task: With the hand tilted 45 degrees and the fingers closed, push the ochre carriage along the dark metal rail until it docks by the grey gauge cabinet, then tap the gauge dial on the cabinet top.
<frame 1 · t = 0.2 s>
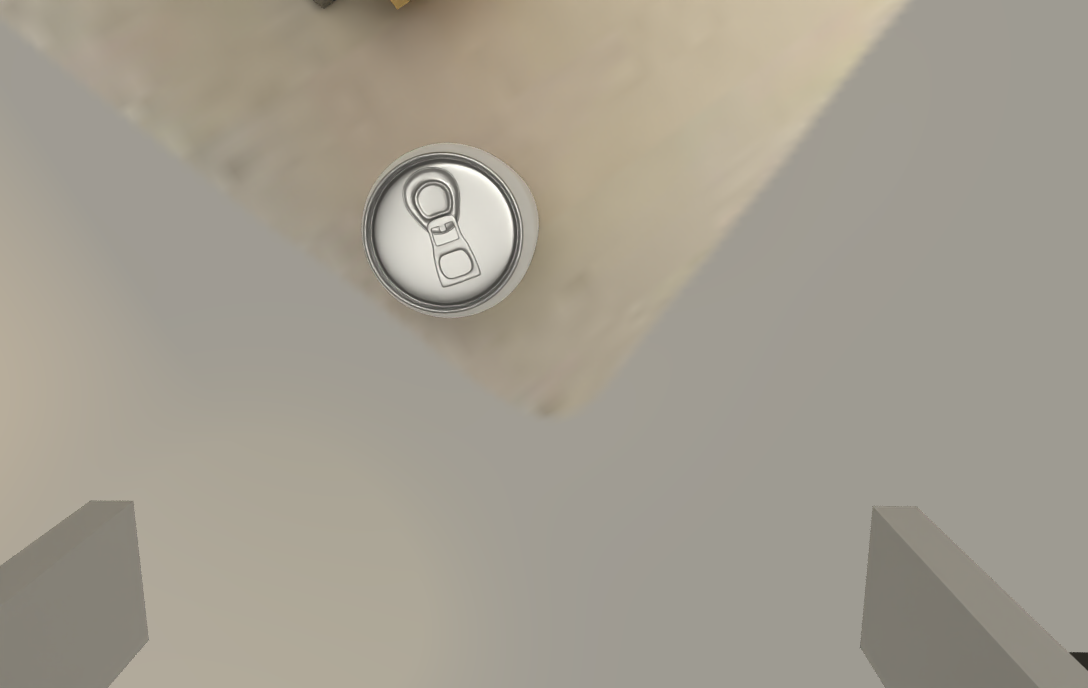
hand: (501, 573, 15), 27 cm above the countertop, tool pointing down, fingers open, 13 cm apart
can: (473, 222, 41), on the countertop
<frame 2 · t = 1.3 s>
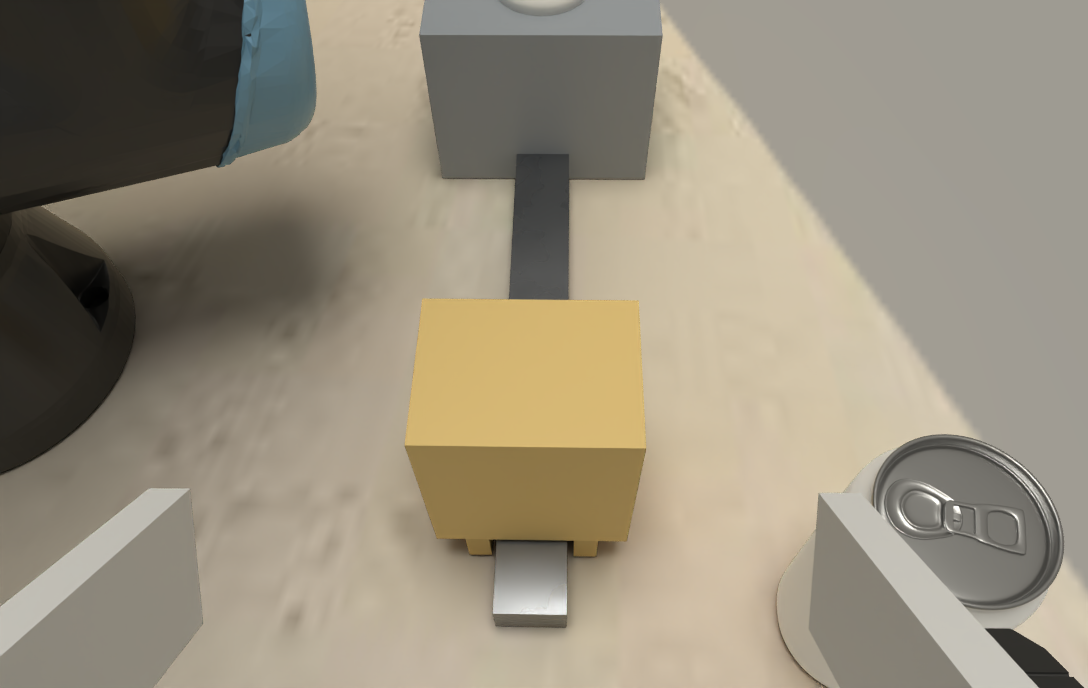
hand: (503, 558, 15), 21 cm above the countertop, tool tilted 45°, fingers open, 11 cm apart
rail: (538, 365, 42), on the countertop
carriage: (531, 438, 34), point 6 cm above the countertop, slide at 0.0 cm
gauge cabinet: (544, 131, 52), on the countertop
can: (848, 620, 36), on the countertop
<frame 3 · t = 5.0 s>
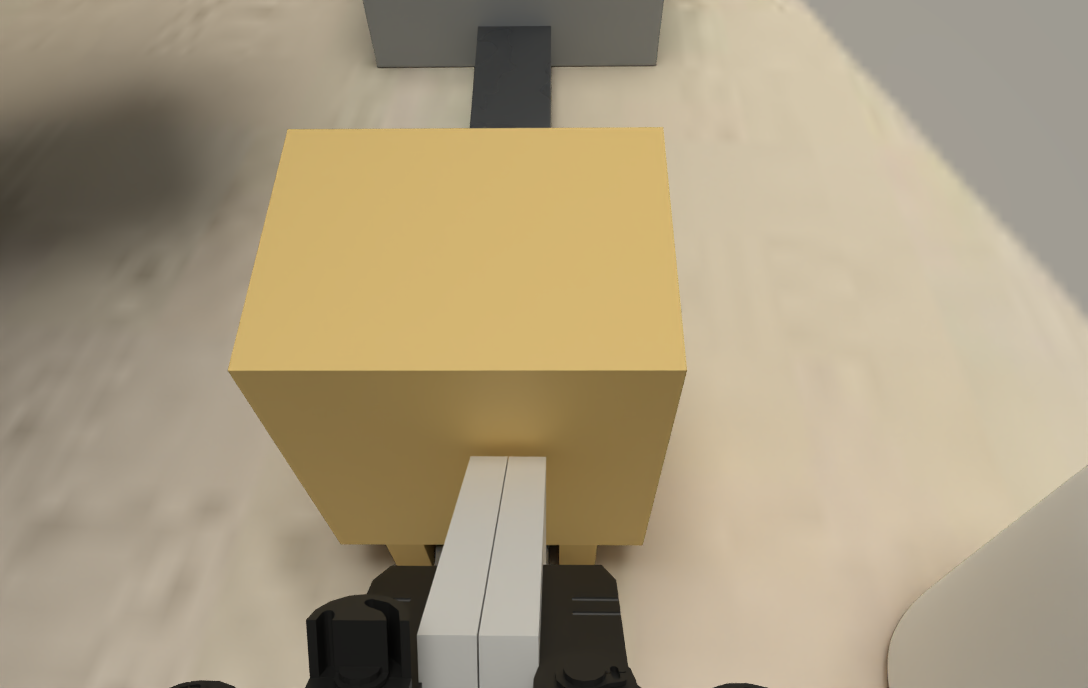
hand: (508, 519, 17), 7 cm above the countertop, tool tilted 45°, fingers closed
rail: (506, 313, 29), on the countertop
carriage: (486, 380, 21), point 6 cm above the countertop, slide at 1.0 cm, touching gripper
gauge cabinet: (518, 8, 38), on the countertop
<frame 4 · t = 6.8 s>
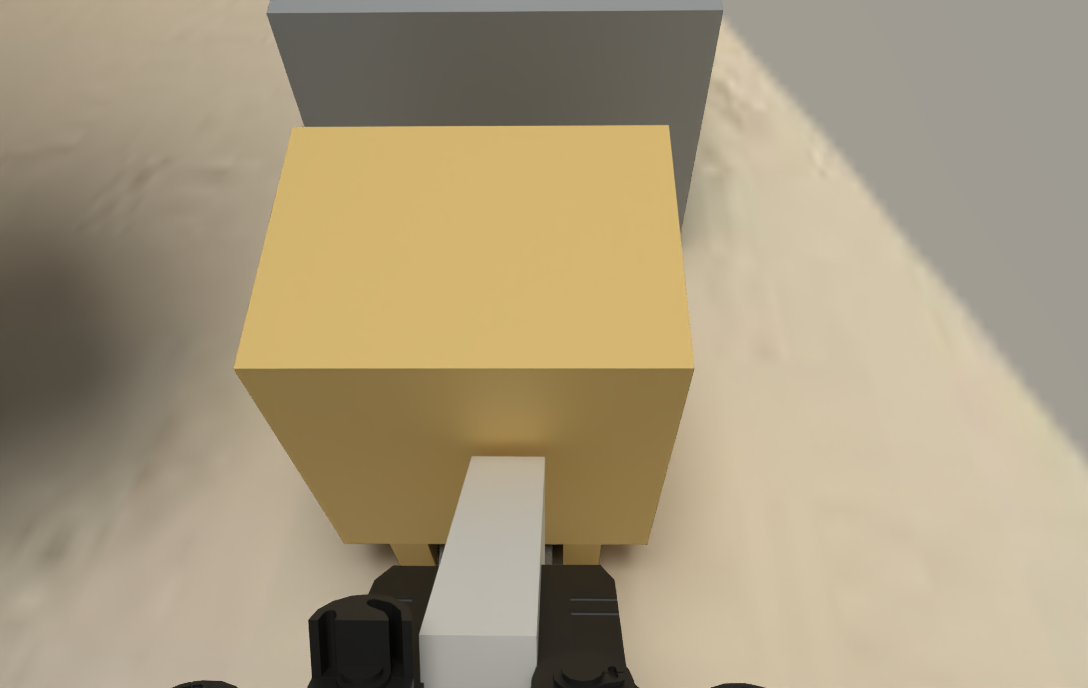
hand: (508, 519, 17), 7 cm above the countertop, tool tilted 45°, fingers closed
carriage: (491, 379, 21), point 6 cm above the countertop, slide at 11.3 cm, touching gripper
gauge cabinet: (514, 172, 32), on the countertop
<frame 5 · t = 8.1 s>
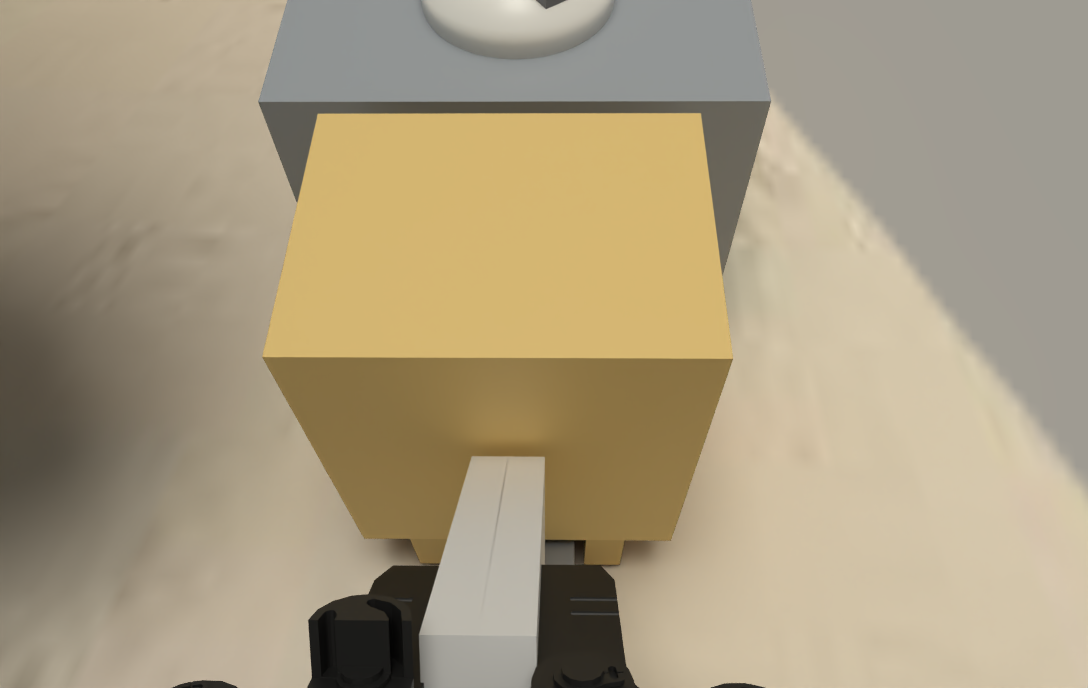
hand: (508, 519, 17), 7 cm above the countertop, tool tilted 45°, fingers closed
carriage: (515, 371, 20), point 6 cm above the countertop, slide at 15.1 cm, touching gripper
gauge cabinet: (528, 243, 30), on the countertop
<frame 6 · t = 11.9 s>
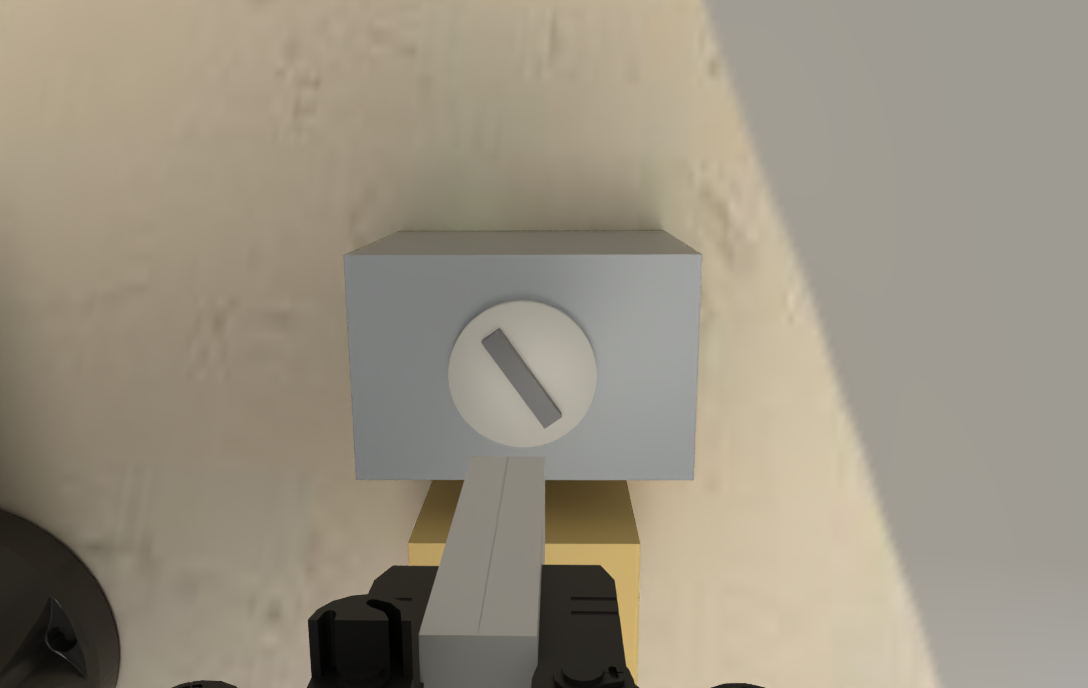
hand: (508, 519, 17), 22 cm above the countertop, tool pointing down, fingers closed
carriage: (529, 551, 35), point 6 cm above the countertop, slide at 15.2 cm
gauge cabinet: (531, 318, 38), on the countertop
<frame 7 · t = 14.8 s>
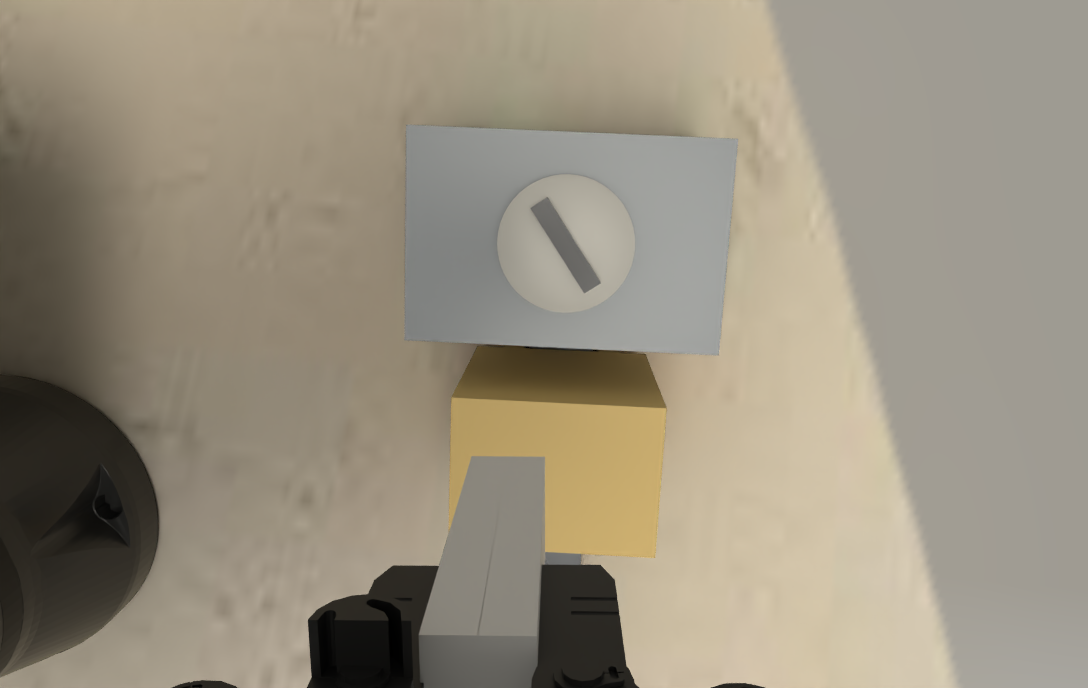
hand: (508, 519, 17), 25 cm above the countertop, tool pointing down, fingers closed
rail: (551, 545, 44), on the countertop
carriage: (557, 433, 37), point 6 cm above the countertop, slide at 15.2 cm
gauge cabinet: (567, 223, 41), on the countertop
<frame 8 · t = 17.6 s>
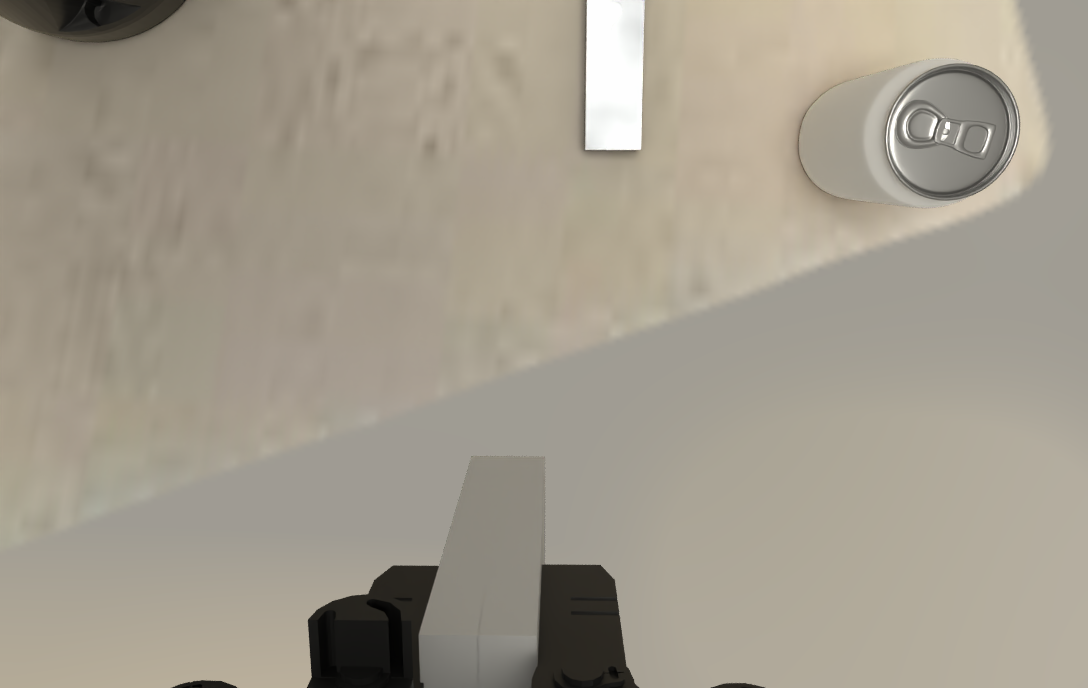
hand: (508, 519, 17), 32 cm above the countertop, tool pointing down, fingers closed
can: (852, 140, 47), on the countertop
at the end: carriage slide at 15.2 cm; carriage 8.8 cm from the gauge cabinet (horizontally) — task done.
